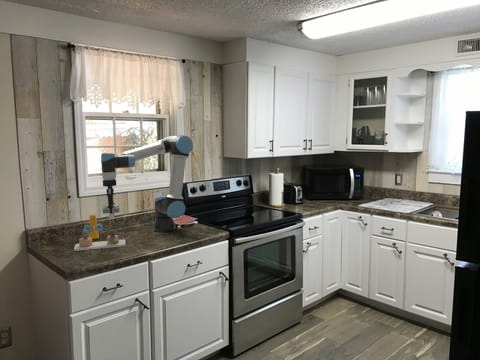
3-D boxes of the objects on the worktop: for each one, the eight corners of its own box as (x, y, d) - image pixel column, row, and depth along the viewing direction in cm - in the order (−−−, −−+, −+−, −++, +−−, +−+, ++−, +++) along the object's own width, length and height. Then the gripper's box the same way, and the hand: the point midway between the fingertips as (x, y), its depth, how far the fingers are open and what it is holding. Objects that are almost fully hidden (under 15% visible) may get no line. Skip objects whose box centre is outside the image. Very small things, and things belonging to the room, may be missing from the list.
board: (125, 241, 234) (125, 239, 234) (125, 246, 223) (125, 244, 223) (76, 245, 226) (75, 243, 225) (73, 251, 215) (73, 249, 215)
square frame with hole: (119, 209, 230) (119, 205, 229) (119, 212, 221) (119, 208, 221) (103, 210, 227) (103, 206, 227) (102, 213, 219) (102, 209, 218)
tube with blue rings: (96, 235, 250) (95, 212, 248) (107, 237, 245) (106, 214, 243) (80, 239, 239) (78, 216, 238) (91, 241, 234) (89, 217, 232)
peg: (92, 243, 226) (91, 228, 225) (91, 246, 220) (90, 231, 219) (80, 244, 224) (79, 229, 223) (78, 247, 218) (77, 232, 217)
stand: (118, 240, 230) (118, 228, 229) (118, 243, 224) (117, 231, 223) (107, 241, 228) (106, 229, 228) (107, 244, 222) (106, 232, 221)
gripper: (103, 177, 231) (105, 213, 234) (101, 181, 210) (104, 221, 213) (116, 176, 233) (118, 212, 236) (115, 180, 213) (118, 220, 215)
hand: (111, 217), depth 225 cm, fingers closed on square frame with hole, 9 cm apart
